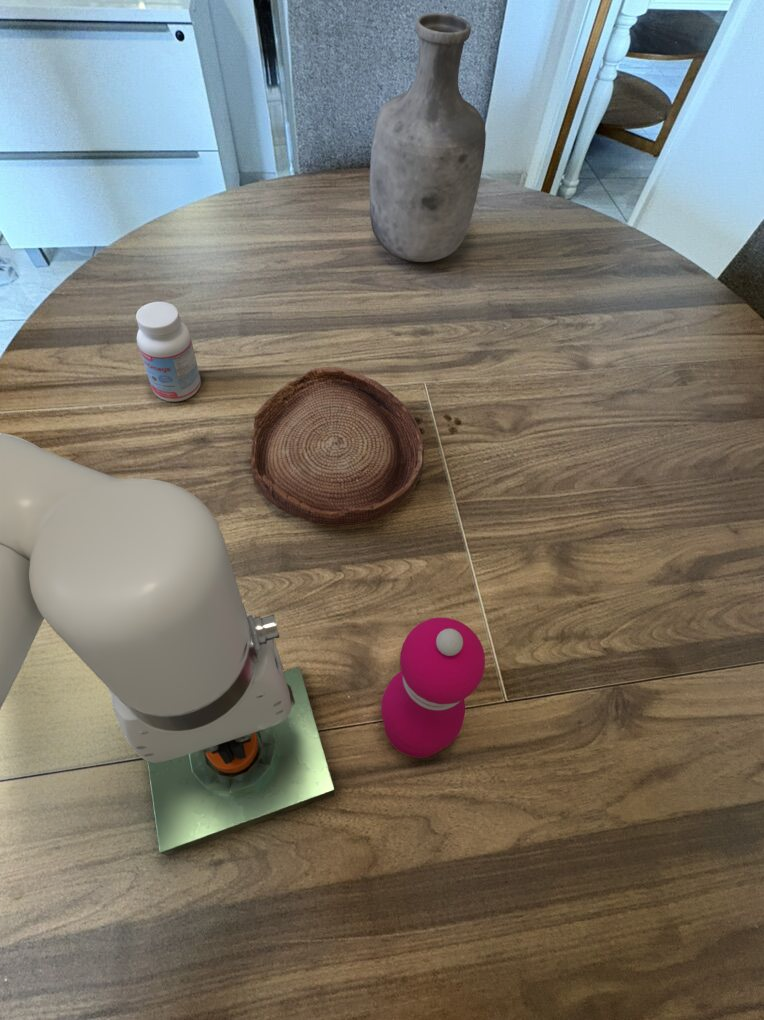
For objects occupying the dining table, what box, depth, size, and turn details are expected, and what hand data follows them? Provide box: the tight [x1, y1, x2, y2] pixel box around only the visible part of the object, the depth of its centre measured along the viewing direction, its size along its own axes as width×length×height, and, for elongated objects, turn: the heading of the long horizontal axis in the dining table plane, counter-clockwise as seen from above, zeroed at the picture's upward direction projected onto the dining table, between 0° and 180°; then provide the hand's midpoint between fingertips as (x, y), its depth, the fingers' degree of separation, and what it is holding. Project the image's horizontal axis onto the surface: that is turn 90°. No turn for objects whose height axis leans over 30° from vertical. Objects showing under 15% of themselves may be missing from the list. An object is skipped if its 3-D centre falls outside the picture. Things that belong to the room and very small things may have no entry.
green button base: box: [146, 666, 336, 857], centre depth 52 cm, size 14×11×4 cm
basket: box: [250, 366, 425, 528], centre depth 71 cm, size 22×20×5 cm
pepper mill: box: [380, 616, 486, 759], centre depth 48 cm, size 7×7×20 cm
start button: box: [206, 732, 258, 773], centre depth 50 cm, size 4×4×2 cm
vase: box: [369, 12, 487, 263], centre depth 87 cm, size 16×16×30 cm
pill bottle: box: [135, 301, 202, 403], centre depth 74 cm, size 6×6×11 cm
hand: (232, 741), depth 49 cm, fingers closed
